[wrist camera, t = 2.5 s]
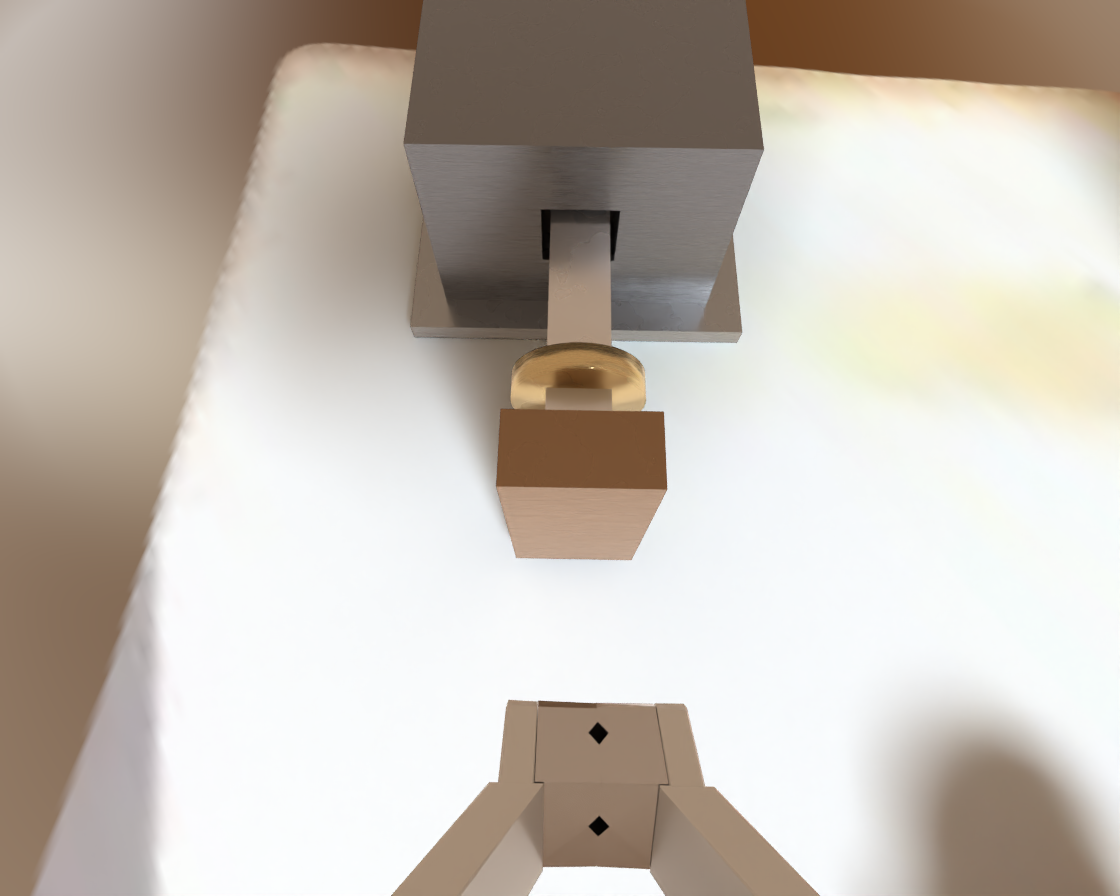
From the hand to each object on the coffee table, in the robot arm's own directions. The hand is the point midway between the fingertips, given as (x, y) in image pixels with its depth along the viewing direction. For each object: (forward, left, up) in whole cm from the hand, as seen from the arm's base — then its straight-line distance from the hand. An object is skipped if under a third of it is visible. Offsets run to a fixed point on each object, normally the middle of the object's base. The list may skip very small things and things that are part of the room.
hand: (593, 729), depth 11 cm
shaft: (-8, -16, -22) cm, 28 cm away
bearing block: (-13, -27, -23) cm, 38 cm away
